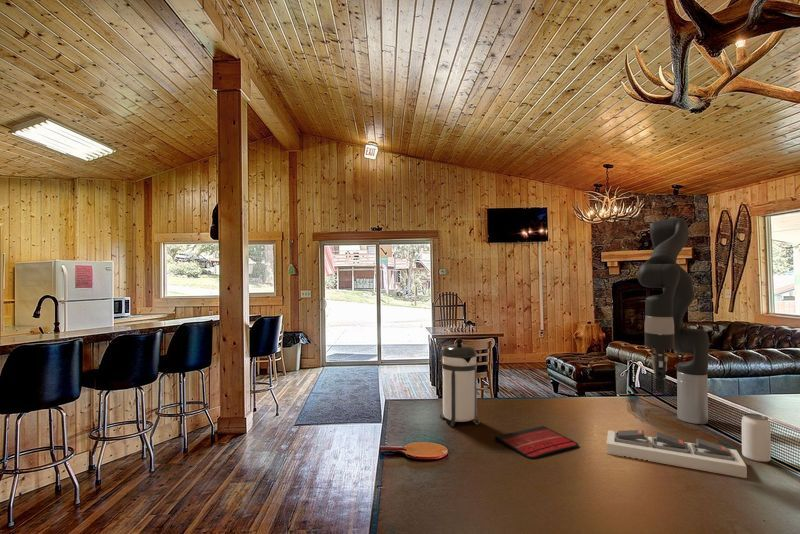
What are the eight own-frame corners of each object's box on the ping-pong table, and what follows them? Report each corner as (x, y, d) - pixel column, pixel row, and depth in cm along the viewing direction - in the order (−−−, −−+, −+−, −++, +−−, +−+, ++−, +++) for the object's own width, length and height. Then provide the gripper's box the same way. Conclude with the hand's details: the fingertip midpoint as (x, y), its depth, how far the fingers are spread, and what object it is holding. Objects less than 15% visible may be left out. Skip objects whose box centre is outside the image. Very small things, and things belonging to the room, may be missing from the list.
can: (776, 463, 121) (775, 420, 121) (750, 461, 122) (749, 419, 122) (762, 454, 127) (761, 413, 127) (737, 452, 128) (736, 412, 129)
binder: (494, 435, 137) (542, 424, 147) (494, 442, 137) (542, 431, 147) (531, 456, 123) (582, 443, 133) (531, 464, 123) (581, 450, 133)
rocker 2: (655, 435, 129) (656, 431, 129) (682, 444, 126) (683, 440, 126) (656, 440, 125) (657, 436, 125) (684, 450, 122) (685, 445, 122)
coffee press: (487, 418, 159) (487, 336, 159) (470, 431, 145) (470, 342, 146) (445, 410, 168) (445, 333, 169) (425, 421, 155) (425, 338, 155)
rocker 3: (695, 441, 124) (696, 437, 124) (725, 451, 121) (726, 446, 121) (697, 447, 120) (699, 442, 120) (728, 457, 117) (729, 452, 117)
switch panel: (608, 439, 138) (608, 427, 138) (736, 460, 123) (736, 447, 123) (606, 453, 128) (606, 440, 128) (746, 478, 112) (746, 463, 112)
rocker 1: (619, 434, 133) (618, 430, 134) (644, 433, 130) (643, 429, 130) (618, 439, 129) (617, 435, 130) (644, 438, 126) (643, 434, 126)
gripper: (643, 328, 135) (644, 383, 134) (645, 333, 123) (645, 394, 122) (671, 329, 131) (672, 386, 131) (676, 335, 119) (677, 398, 119)
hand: (659, 390), depth 127 cm, fingers closed
